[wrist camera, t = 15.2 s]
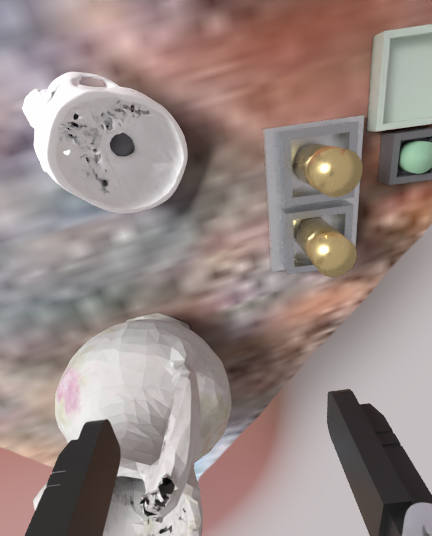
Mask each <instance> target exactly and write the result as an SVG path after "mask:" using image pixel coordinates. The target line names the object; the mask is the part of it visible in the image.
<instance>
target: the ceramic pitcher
mask: <svg viewBox="0 0 432 536" xmlns="http://www.w3.org/2000/svg"><path fill="white" fill-rule="evenodd" d="M230 412H231V393H230V385H229V381H228V377H227V374H226V371H225V369H224V366H223V364H222V361H221V360H220V358H219V357H218V356H217V355H216V354H215V353H214V352H213V350H212V349H211V348H210V347H209V345H208V344H207V343H206V342H205V341H204V340H203V339H202V338H201V337H200V336H198V335H197V334H196V333H194V332H193V331H191V329H190V327H189V325H188V324H186V323H184V322H182V321H179V320H177V319H174V318H172V317H169V316H166V315H164V314H161V313H155V314H150V315H145V316H141V317H137V318H134V319H130V320H127V321H126V322H125V323H121V324H117V325H114V326H111V327H110V328H108V329H106V330H104V331H103V332H101V333H99V334H98V335H96V336H94V337H93V338H91V339H90V340H89V341H88V342H86V343H85V344H84V345H83V346H82V347H81V348H80V349H79V351H78V352H77V353H76V354H75V355H74V356H73V358H72V359H71V360H70V362H69V364H68V366H67V368H66V370H65V372H64V374H63V376H62V378H61V380H60V383H59V386H58V389H57V392H56V395H55V416H56V420H57V423H58V426H59V429H60V430H61V432H62V433H63V434H64V436H65V437H66V439H67V441H68V443H69V442H70V441H71V440H76V439H78V438H79V436H80V433H81V430H82V428H83V426H84V424H85V423H86V422H89V421H97V420H104V419H108V420H109V421H110V423H111V426H112V428H113V430H114V433H115V435H116V438H117V440H118V443H119V445H120V450H121V459H120V465H119V469H118V474H117V478H116V482H115V486H114V490H113V494H112V498H111V503H110V507H109V511H108V515H107V519H106V523H105V527H104V532H103V536H201V534H202V519H203V509H202V504H201V498H200V490H199V484H198V481H197V479H196V476H195V471H194V463H195V462H196V461H197V460H199V459H200V458H202V457H203V456H204V455H206V454H207V453H209V452H210V451H211V449H212V448H213V447H214V446H215V444H216V443H217V442H218V441H219V440H220V438H221V437H222V435H223V433H224V432H225V430H226V427H227V424H228V420H229V417H230ZM46 485H47V483H46V484H45V486H44V487H43V488H42V489H41V490H40V492H39V493H38V495H37V496H36V498H35V499H34V500H33V502H34V509H35V510H36V508H37V506H38V503H39V501H40V499H41V496H42V494H43V492H44V489H46Z"/></svg>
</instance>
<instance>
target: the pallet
mask: <svg viewBox="0 0 432 536" xmlns="http://www.w3.org/2000/svg"><path fill="white" fill-rule="evenodd" d="M363 128H364V115H359V116H352V117H345V118H337V119H330V120H323V121H316V122H309V123H302V124H294V125H287V126H280V127H273V128H266V129H262V133H263V150H264V167H265V184H266V201H267V218H268V235H269V252H270V268H271V270H272V271H280V270H285V271H286V273H287V274H295V273H303V272H311V271H318V269H317V268H316V267H315V265H314V264H313V263H312V261H311V260H310V259H309V257H308V256H307V255H306V254H305V252H304V251H303V250H302V248H301V247H300V246H299V244H298V242H297V231H298V229H299V227H300V226H301V225H302V224H303V223H304V222H305V221H307V220H309V219H313V218H319V219H323V220H325V221H326V222H327V223H328V224H330V225H331V226H332V227H333V228H335V229H336V230H337V231H338V232H340V233H341V234H342V235H343V236H344V237H346V238H347V239H348V240H349V241H351V242H352V243H353V244H354V246H355V247H356V233H357V218H358V203H359V188H360V181H359V183H358V185H357V186H356V187H355V188H354V189H353V190H352V191H351V192H350V193H348V194H346V195H344V196H341V197H329V196H327V195H325V194H323V193H321V192H320V191H318V190H317V189H315V188H313V187H312V186H310V185H309V184H307V183H305V182H304V181H302V180H301V179H300V178H299V177H298V176H297V174H296V171H295V161H296V158H297V156H298V154H299V152H300V151H301V150H302V149H303V148H305V147H306V146H308V145H310V144H315V143H317V144H323V145H329V146H334V147H339V148H344V149H349V150H352V151H353V152H355V153H356V154H357V155H358V156H359V158H360V159H361V158H362V143H363Z"/></svg>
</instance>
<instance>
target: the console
mask: <svg viewBox="0 0 432 536" xmlns="http://www.w3.org/2000/svg"><path fill="white" fill-rule="evenodd" d="M409 141H425V142H431V143H432V127H422V128H415V129H408V130H401V131H393V132H386V133H382V134H381V145H380V156H379V168H378V179H377V181H378V182H381V183H384V184H387V185H395V184H403V183H410V182H418V181H425V180H432V168H430V169H429V170H428V171H426V172H424V173H421V174H416V173H411V172H407V171H403V170H401V169H399V168H398V161H399V152H400V148H401V146H403V145H404V144H405V143H407V142H409Z"/></svg>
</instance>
